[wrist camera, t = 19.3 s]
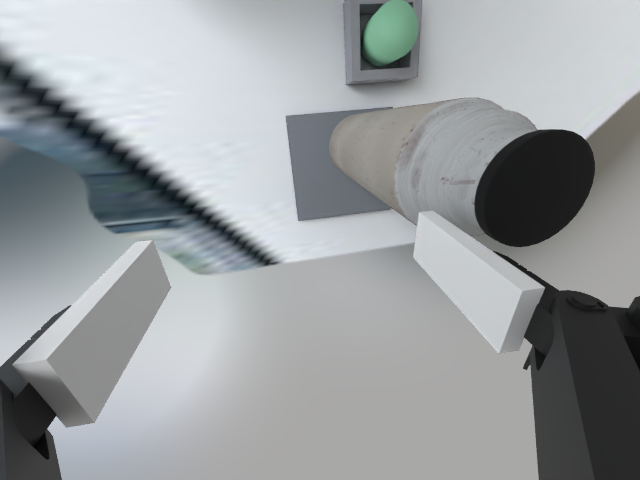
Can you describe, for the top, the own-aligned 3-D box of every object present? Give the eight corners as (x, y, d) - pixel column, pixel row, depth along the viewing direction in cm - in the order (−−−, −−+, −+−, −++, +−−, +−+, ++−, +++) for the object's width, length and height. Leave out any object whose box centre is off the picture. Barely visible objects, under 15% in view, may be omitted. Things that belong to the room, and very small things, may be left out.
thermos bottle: (394, 123, 36) (680, 118, 10) (374, 181, 39) (563, 290, 13) (338, 105, 34) (520, 46, 9) (322, 168, 37) (422, 264, 11)
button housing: (346, 84, 34) (352, 81, 31) (343, 4, 30) (350, -8, 28) (406, 80, 35) (417, 76, 32) (409, 1, 31) (422, -11, 29)
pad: (298, 219, 40) (298, 220, 39) (285, 116, 34) (285, 116, 34) (388, 208, 41) (389, 209, 41) (390, 107, 36) (392, 107, 35)
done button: (360, 67, 32) (371, 60, 28) (360, 15, 30) (371, 0, 26) (400, 65, 32) (416, 57, 29) (402, 13, 30) (420, -2, 27)
